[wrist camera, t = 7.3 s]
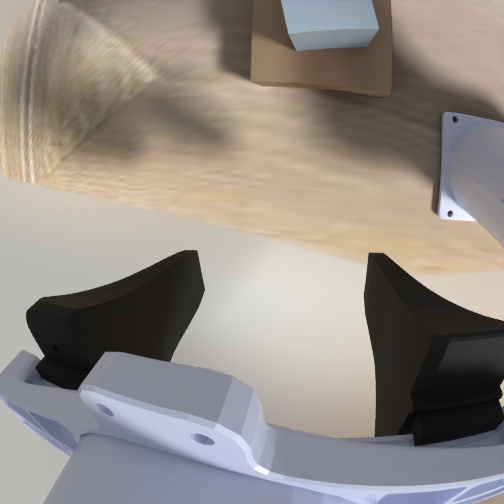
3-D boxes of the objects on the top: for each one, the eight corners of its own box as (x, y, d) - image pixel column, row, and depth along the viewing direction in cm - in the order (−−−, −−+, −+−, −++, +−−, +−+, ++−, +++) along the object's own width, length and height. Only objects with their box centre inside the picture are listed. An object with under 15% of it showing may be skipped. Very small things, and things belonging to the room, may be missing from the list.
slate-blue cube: (352, -11, 11) (358, -40, 7) (367, 47, 12) (379, 29, 9) (284, -6, 12) (272, -34, 8) (296, 51, 13) (288, 34, 10)
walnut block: (378, -1, 13) (388, -22, 9) (378, 97, 17) (391, 94, 13) (266, -9, 14) (253, -31, 11) (263, 86, 18) (250, 81, 15)
